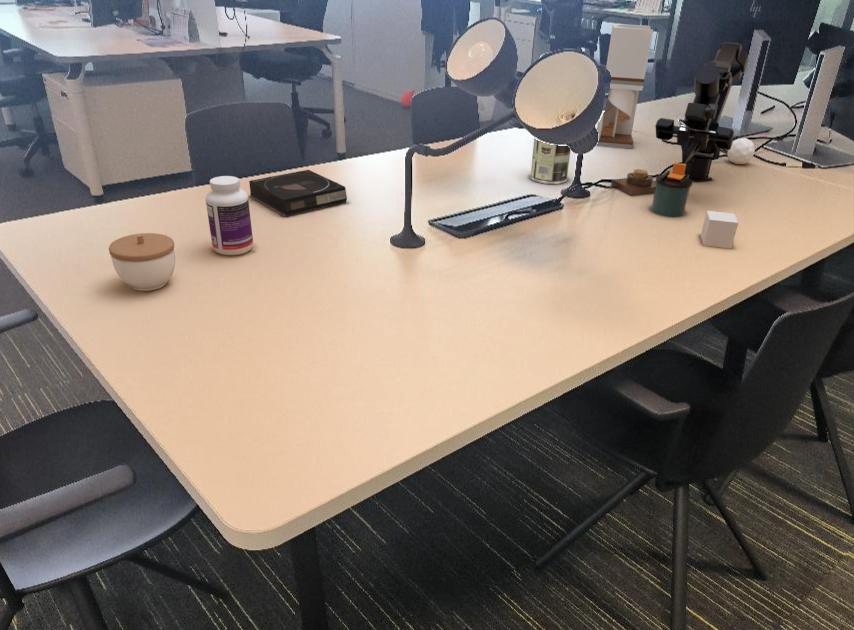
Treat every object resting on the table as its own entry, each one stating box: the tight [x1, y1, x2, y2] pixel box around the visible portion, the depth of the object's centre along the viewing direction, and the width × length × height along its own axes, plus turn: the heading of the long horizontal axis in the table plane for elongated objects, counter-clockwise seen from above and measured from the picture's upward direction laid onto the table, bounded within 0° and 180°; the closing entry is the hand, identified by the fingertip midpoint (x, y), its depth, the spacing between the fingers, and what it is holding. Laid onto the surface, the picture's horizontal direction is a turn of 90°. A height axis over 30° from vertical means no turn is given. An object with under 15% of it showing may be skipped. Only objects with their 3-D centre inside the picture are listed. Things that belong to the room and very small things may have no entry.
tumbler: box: [650, 170, 693, 218], centre depth 172 cm, size 9×9×9 cm
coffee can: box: [529, 137, 571, 185], centre depth 190 cm, size 10×10×14 cm
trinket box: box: [108, 232, 176, 292], centre depth 125 cm, size 11×11×9 cm
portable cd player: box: [248, 169, 348, 218], centre depth 168 cm, size 16×17×4 cm
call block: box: [610, 171, 657, 197], centre depth 188 cm, size 11×9×4 cm
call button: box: [632, 168, 649, 179], centre depth 187 cm, size 4×4×2 cm
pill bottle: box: [205, 175, 254, 256], centre depth 139 cm, size 8×8×14 cm
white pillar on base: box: [596, 23, 654, 150], centre depth 221 cm, size 11×11×35 cm
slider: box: [667, 162, 686, 180], centre depth 171 cm, size 5×3×3 cm
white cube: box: [700, 210, 739, 249], centre depth 156 cm, size 6×6×6 cm
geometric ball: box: [726, 137, 756, 165], centre depth 213 cm, size 8×8×8 cm
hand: (683, 162), depth 175 cm, fingers closed
